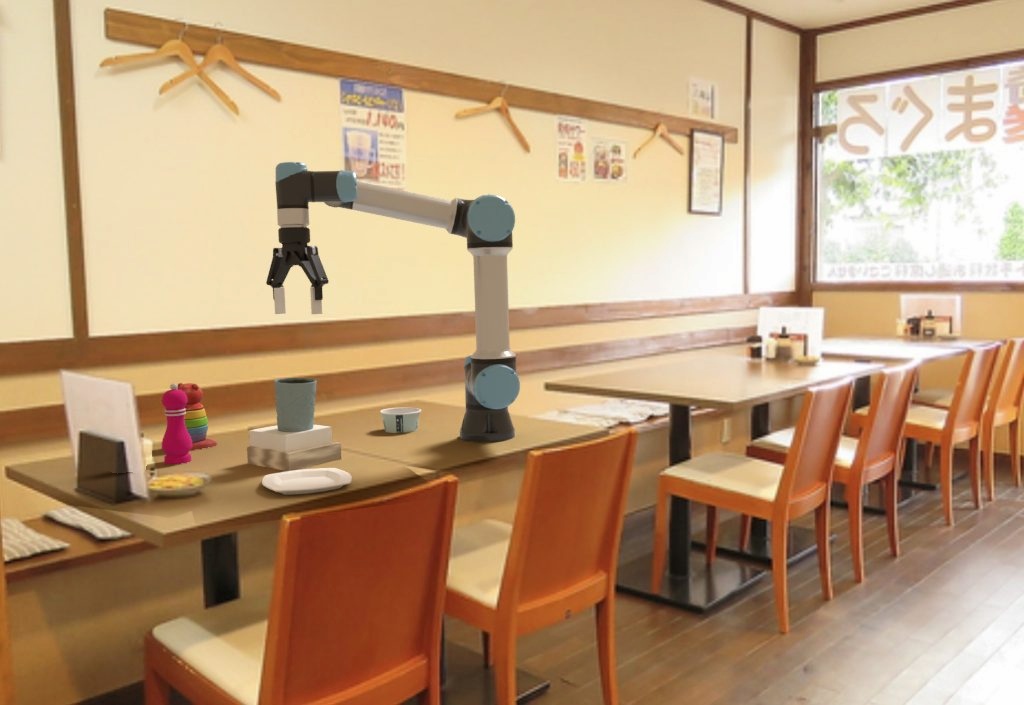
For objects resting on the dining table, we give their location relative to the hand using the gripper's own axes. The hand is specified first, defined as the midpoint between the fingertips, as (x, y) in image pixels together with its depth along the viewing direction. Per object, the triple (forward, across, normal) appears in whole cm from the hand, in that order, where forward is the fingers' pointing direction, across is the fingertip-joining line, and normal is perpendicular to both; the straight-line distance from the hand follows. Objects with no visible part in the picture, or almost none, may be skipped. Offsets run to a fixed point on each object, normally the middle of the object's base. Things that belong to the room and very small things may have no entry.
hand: (298, 314), depth 218 cm
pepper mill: (+36, +26, +19) cm, 49 cm away
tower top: (+32, +1, +4) cm, 32 cm away
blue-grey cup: (+28, -1, +3) cm, 28 cm away
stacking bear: (+36, +40, +6) cm, 54 cm away
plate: (+37, -21, +18) cm, 46 cm away
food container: (+37, +6, -41) cm, 55 cm away
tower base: (+37, 0, +4) cm, 37 cm away
